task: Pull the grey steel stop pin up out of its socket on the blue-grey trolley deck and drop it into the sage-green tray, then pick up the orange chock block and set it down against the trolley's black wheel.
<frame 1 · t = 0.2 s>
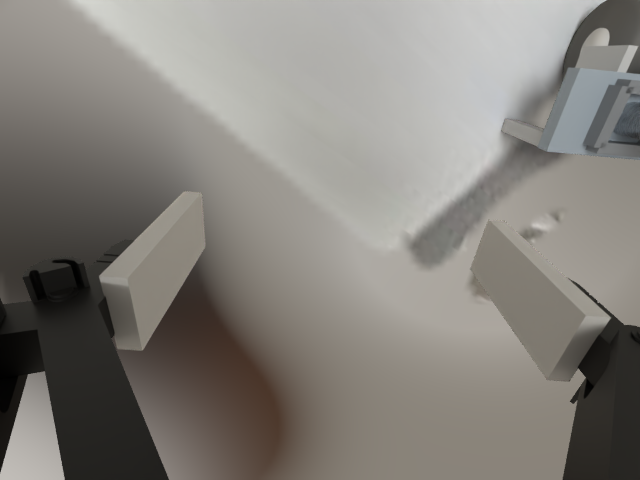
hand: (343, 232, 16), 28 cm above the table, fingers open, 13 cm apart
cart: (582, 49, 37), on the table
pin: (627, 118, 31), point 10 cm above the table, touching cart
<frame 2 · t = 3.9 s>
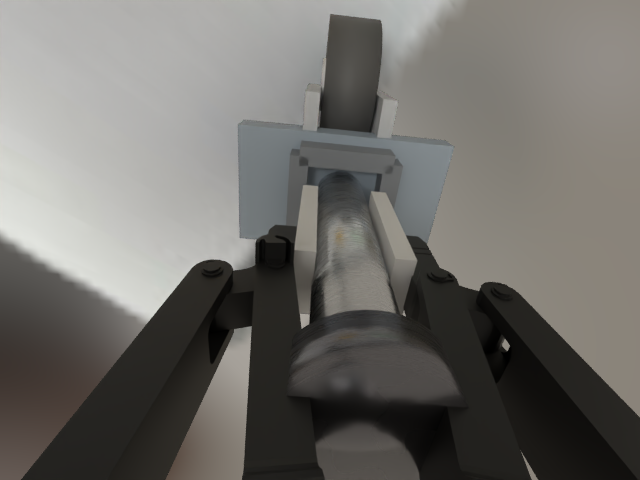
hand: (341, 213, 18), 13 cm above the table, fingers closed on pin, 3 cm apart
cart: (342, 83, 27), on the table
pin: (339, 194, 20), point 10 cm above the table, touching gripper
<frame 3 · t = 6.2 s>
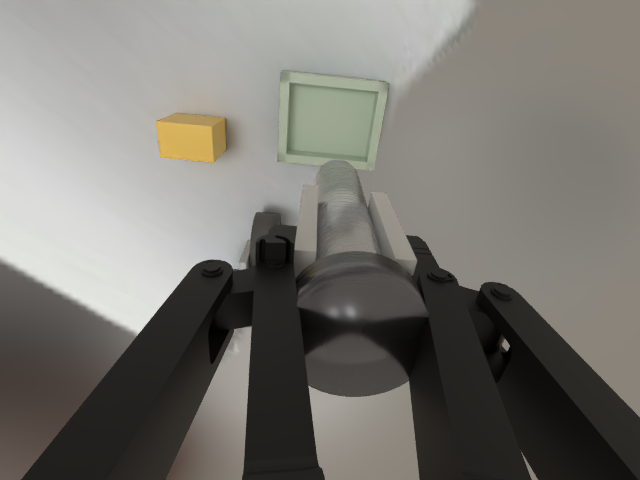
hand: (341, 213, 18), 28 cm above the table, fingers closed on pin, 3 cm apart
cart: (270, 229, 50), on the table
tray: (329, 120, 43), on the table
chock: (201, 131, 43), on the table
pin: (337, 180, 23), point 23 cm above the table, touching gripper
when the fingers open (6 cm above the table, at t = 9.0 s): pin stays where it is, resting on tray.
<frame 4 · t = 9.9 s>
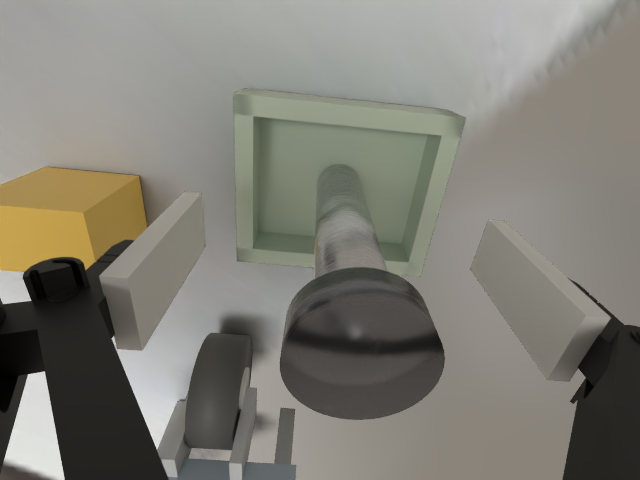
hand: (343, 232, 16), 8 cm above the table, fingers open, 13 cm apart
cart: (235, 348, 30), on the table
tray: (337, 180, 23), on the table
chock: (98, 199, 23), on the table
pin: (338, 185, 22), point 1 cm above the table, touching tray
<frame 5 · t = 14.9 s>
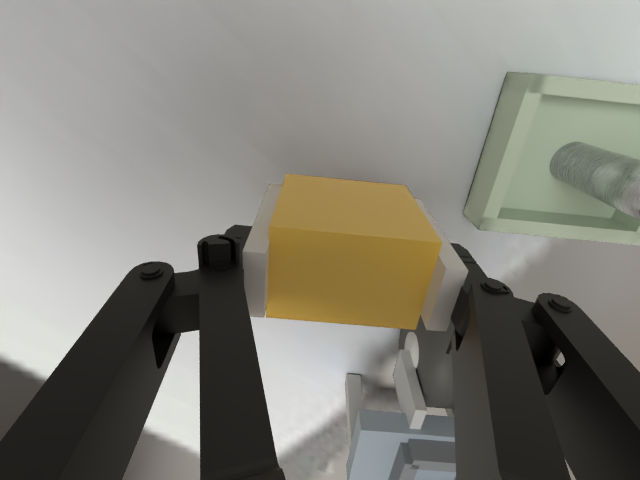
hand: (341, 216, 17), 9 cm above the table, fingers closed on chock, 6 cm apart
cart: (418, 321, 32), on the table
tray: (564, 157, 25), on the table
chock: (341, 216, 18), point 8 cm above the table, touching gripper
pin: (570, 161, 24), point 1 cm above the table, touching tray
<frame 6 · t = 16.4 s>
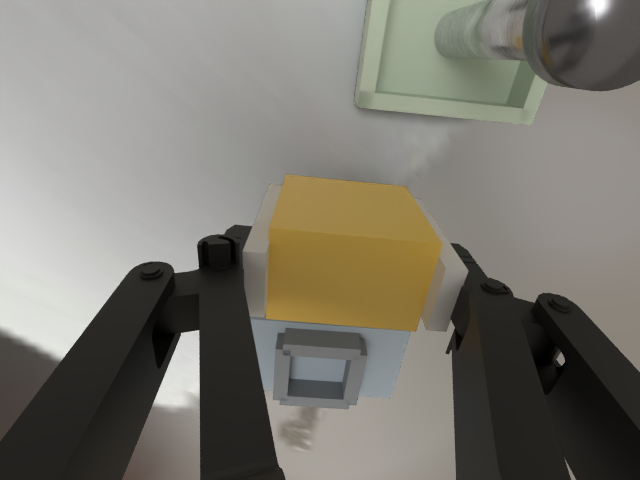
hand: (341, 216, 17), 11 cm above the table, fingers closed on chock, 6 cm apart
cart: (324, 231, 31), on the table
tray: (451, 32, 23), on the table
chock: (341, 217, 18), point 11 cm above the table, touching gripper
pin: (455, 34, 23), point 1 cm above the table, touching tray
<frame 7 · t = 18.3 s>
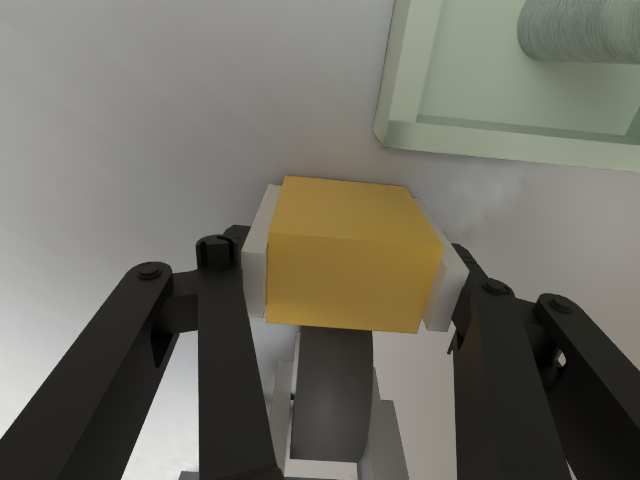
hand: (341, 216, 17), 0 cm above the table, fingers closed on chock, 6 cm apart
cart: (325, 314, 21), on the table
tray: (544, 16, 14), on the table
chock: (340, 217, 18), on the table, touching gripper
pin: (554, 19, 13), point 1 cm above the table, touching tray
when the fingers open (0 cm above the table, at t = 18.4 s): chock stays where it is, on the table.
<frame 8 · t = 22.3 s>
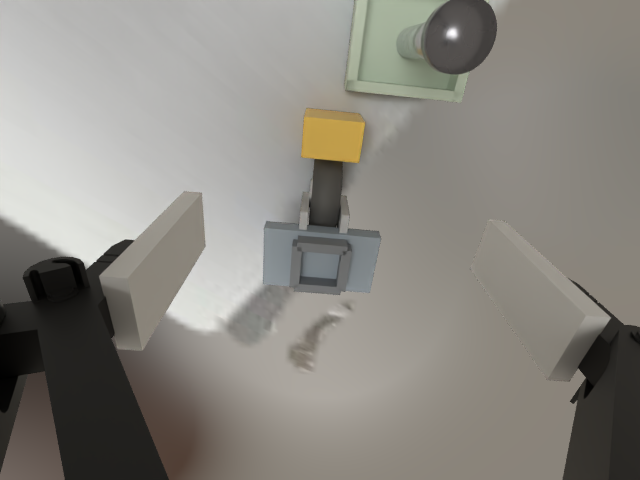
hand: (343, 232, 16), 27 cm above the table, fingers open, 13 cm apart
cart: (324, 182, 43), on the table
tray: (407, 41, 35), on the table
chock: (331, 129, 40), on the table
pin: (409, 42, 35), point 1 cm above the table, touching tray
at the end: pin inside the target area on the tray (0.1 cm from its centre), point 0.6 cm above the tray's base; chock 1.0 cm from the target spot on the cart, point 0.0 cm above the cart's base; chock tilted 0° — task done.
